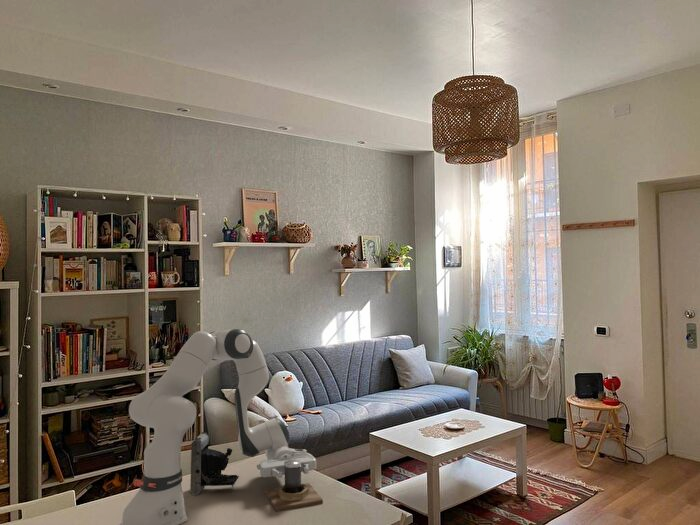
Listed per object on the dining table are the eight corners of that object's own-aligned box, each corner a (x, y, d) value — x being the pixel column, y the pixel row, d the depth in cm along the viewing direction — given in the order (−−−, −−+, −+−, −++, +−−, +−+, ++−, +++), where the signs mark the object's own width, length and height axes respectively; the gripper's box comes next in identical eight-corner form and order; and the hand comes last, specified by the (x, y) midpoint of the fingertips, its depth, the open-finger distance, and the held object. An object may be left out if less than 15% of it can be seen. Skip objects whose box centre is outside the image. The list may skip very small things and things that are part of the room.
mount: (322, 503, 180) (322, 493, 180) (276, 511, 174) (275, 501, 174) (309, 486, 195) (308, 477, 195) (265, 493, 189) (265, 484, 189)
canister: (296, 499, 181) (295, 466, 181) (281, 496, 183) (281, 464, 183) (304, 492, 186) (304, 460, 186) (290, 490, 188) (289, 458, 188)
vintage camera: (232, 497, 188) (234, 439, 188) (189, 495, 188) (191, 438, 189) (239, 486, 197) (240, 432, 198) (197, 485, 198) (199, 431, 198)
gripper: (255, 456, 194) (263, 468, 181) (309, 448, 201) (320, 460, 188) (255, 473, 193) (263, 487, 181) (309, 465, 201) (321, 478, 188)
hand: (293, 473), depth 184 cm, fingers open, 8 cm apart
